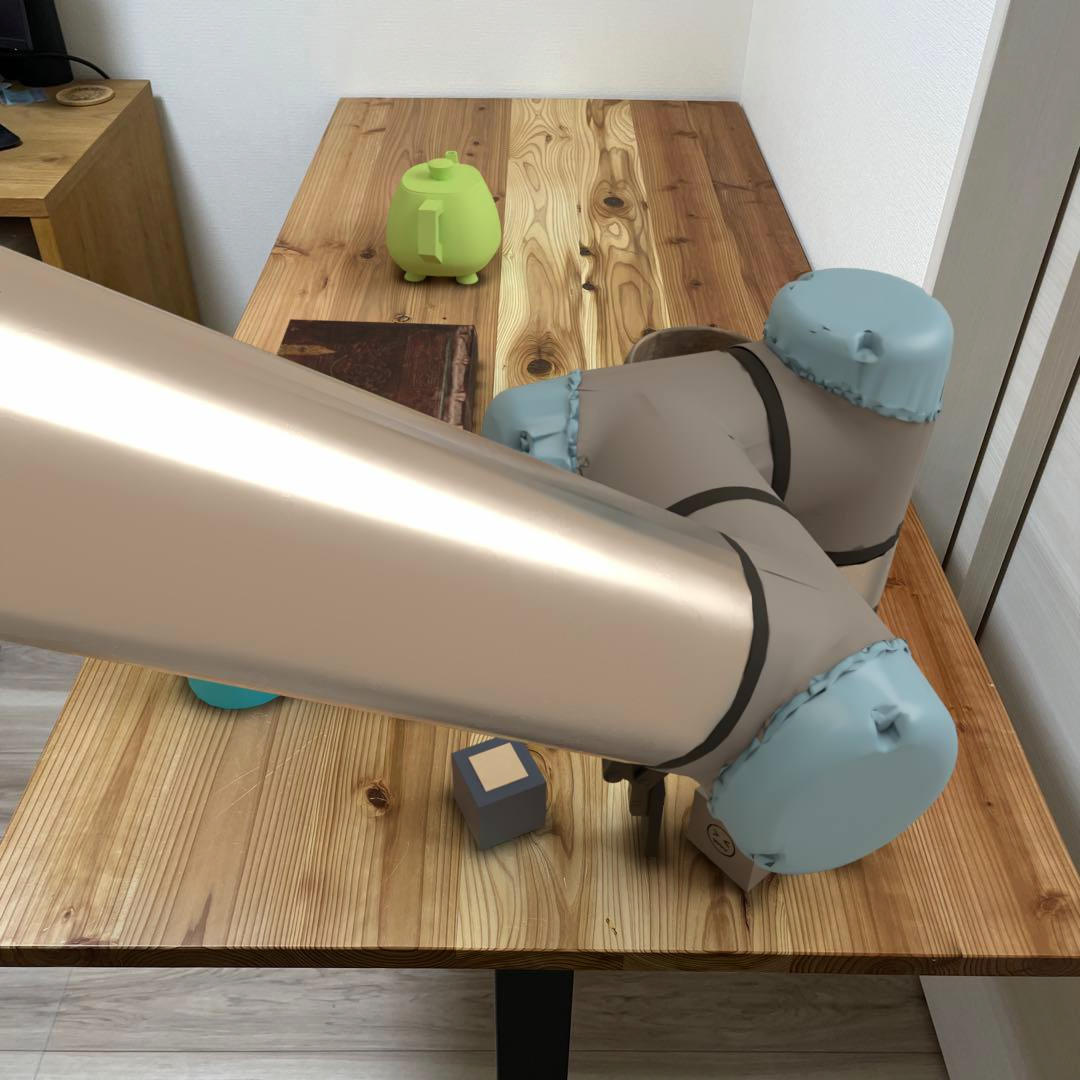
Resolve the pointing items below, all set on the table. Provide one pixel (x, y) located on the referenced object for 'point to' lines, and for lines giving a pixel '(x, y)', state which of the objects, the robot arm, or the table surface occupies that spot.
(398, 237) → the teapot
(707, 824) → the dice cube
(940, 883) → the table surface
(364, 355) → the hardback book
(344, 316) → the table surface
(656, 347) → the bowl
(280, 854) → the table surface
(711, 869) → the table surface
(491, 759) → the block
